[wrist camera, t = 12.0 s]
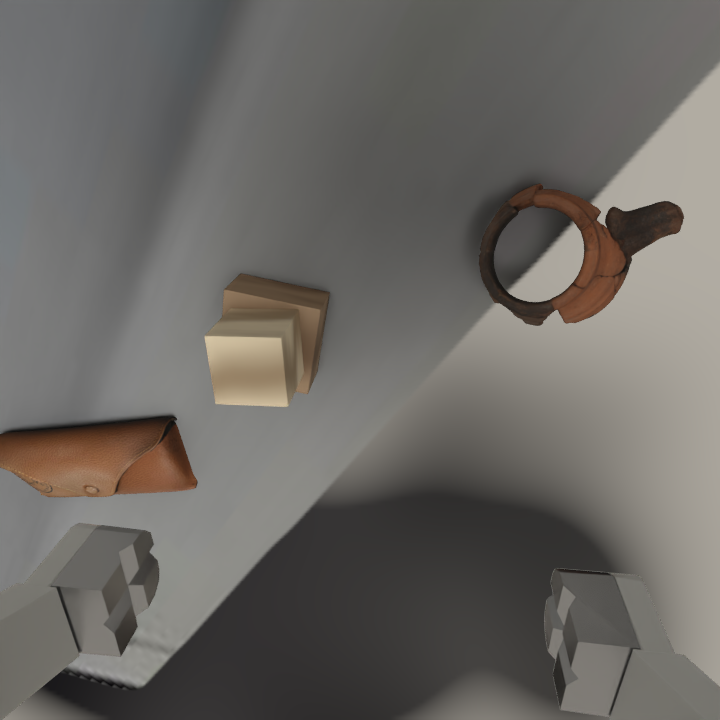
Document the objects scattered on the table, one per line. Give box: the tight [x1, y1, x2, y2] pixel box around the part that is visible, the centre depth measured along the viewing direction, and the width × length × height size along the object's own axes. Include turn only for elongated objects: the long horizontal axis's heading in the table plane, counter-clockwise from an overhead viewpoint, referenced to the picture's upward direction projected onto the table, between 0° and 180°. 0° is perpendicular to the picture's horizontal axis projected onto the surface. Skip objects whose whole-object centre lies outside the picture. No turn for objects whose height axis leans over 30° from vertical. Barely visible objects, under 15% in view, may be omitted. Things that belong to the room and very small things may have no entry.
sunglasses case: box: [0, 417, 197, 497], centre depth 51 cm, size 18×7×7 cm, turn 101°
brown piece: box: [479, 184, 684, 326], centre depth 35 cm, size 12×10×8 cm
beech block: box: [205, 308, 304, 407], centre depth 38 cm, size 5×5×5 cm
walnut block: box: [222, 274, 330, 394], centre depth 42 cm, size 7×7×4 cm
